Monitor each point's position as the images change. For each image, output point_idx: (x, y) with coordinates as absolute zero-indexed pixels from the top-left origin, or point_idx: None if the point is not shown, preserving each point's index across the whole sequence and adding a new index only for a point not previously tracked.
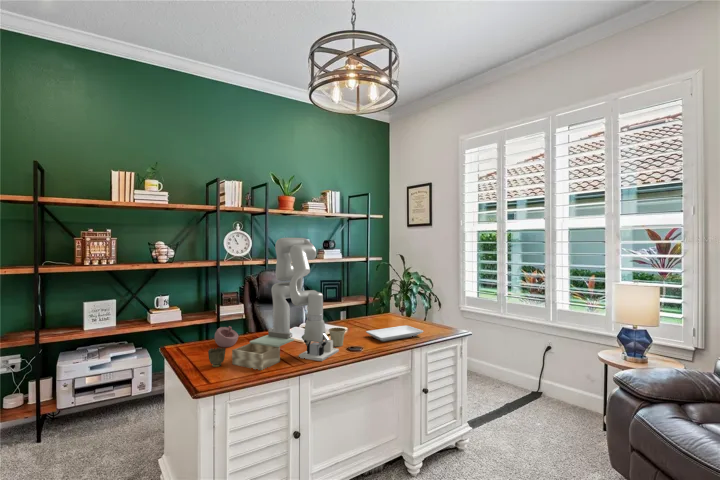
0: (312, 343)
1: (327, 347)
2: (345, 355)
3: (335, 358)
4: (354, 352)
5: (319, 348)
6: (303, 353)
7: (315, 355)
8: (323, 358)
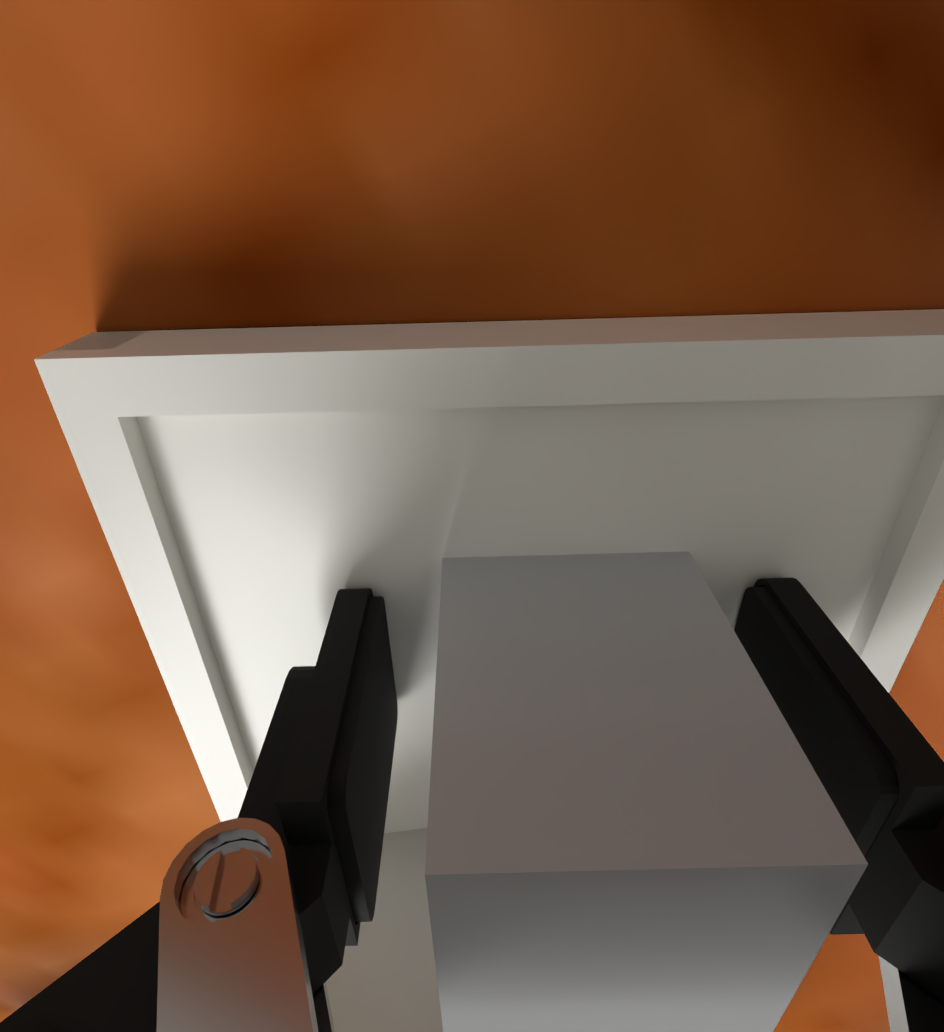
0: (775, 969)
1: (369, 941)
2: (28, 837)
3: (17, 657)
4: (48, 956)
5: (313, 765)
6: (912, 524)
7: (482, 555)
8: (94, 447)
